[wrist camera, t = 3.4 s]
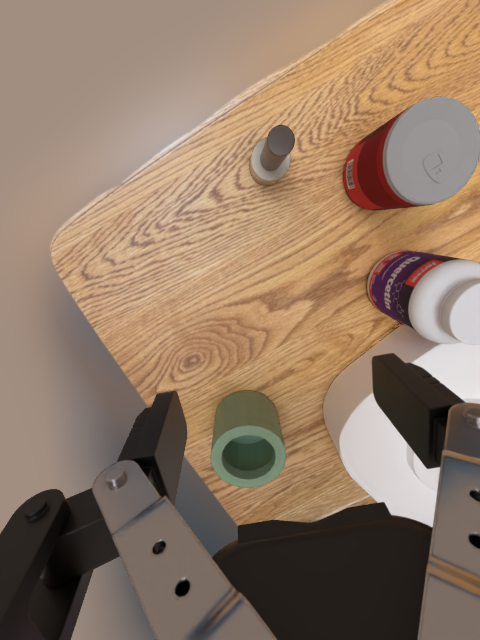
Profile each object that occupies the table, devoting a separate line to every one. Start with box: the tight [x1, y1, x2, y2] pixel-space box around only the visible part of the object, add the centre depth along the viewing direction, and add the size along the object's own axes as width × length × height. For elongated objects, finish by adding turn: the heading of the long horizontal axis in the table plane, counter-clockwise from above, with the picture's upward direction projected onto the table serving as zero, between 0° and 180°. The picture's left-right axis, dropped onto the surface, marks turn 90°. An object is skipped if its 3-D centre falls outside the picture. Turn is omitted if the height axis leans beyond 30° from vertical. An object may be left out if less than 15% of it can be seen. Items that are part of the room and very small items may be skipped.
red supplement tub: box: [343, 97, 480, 210], centre depth 30 cm, size 8×8×11 cm
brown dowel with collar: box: [249, 125, 295, 185], centre depth 29 cm, size 4×4×11 cm
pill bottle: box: [367, 250, 480, 345], centre depth 32 cm, size 8×8×14 cm
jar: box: [211, 390, 286, 488], centre depth 41 cm, size 9×9×8 cm
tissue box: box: [323, 324, 480, 527], centre depth 37 cm, size 25×25×16 cm
